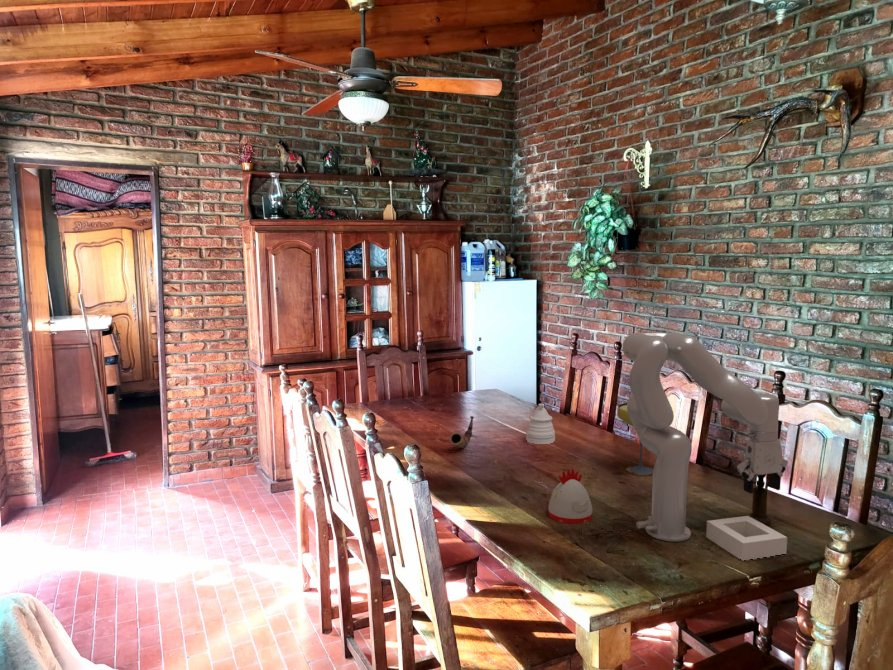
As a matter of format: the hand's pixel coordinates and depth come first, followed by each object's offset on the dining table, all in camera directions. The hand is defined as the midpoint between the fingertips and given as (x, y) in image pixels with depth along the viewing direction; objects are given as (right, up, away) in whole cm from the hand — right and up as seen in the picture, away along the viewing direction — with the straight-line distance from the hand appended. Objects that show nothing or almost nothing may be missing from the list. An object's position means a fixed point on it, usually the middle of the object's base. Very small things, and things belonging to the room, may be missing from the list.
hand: (761, 490), depth 187 cm
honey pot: (-54, -1, +89) cm, 104 cm away
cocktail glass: (-21, -6, +50) cm, 55 cm away
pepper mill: (0, -11, +1) cm, 11 cm away
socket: (-11, -13, -13) cm, 21 cm away
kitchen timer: (-56, -11, +10) cm, 58 cm away
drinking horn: (-88, -2, +86) cm, 123 cm away
